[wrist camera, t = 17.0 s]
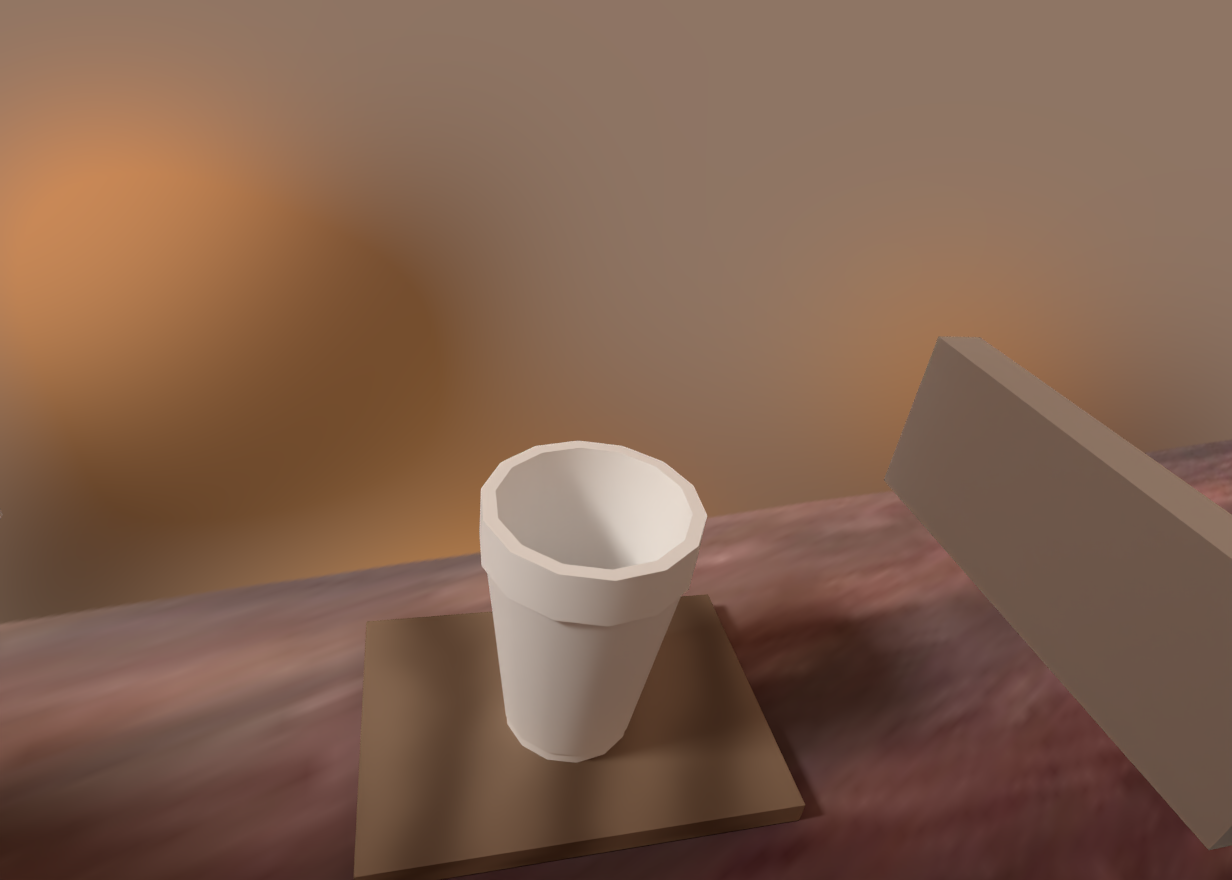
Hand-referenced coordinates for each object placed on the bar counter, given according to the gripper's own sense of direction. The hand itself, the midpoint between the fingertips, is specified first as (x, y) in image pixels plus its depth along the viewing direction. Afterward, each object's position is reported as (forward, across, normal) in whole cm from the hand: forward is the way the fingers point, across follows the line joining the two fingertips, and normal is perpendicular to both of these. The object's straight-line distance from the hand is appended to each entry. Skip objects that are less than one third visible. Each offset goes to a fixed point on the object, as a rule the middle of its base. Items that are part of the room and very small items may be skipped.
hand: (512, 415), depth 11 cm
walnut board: (+15, +6, -28) cm, 32 cm away
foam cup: (+15, +6, -27) cm, 32 cm away
